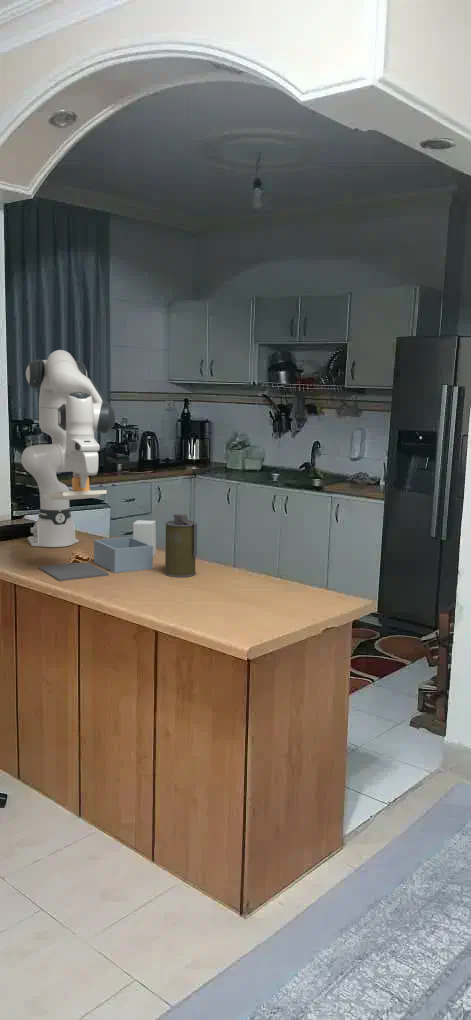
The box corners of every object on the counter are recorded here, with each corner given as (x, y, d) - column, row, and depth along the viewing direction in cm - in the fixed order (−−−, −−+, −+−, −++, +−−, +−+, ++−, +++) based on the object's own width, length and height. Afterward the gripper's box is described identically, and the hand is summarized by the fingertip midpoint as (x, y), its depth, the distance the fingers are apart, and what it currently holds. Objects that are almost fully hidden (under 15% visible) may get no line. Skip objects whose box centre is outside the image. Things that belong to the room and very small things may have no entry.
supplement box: (156, 553, 295) (156, 520, 293) (152, 557, 288) (152, 523, 286) (136, 553, 296) (137, 519, 294) (132, 557, 289) (132, 522, 287)
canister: (158, 574, 262) (159, 515, 259) (175, 568, 271) (175, 511, 268) (186, 579, 257) (187, 518, 254) (202, 572, 266) (203, 514, 263)
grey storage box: (94, 562, 278) (94, 540, 277) (130, 558, 286) (130, 536, 284) (114, 573, 263) (114, 549, 262) (152, 568, 271) (152, 545, 269)
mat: (38, 568, 268) (38, 566, 268) (86, 563, 277) (86, 561, 277) (59, 580, 251) (58, 579, 251) (108, 575, 260) (108, 573, 260)
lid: (44, 501, 264) (42, 481, 264) (85, 498, 271) (84, 479, 271) (63, 499, 248) (62, 477, 248) (106, 496, 256) (105, 476, 256)
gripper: (59, 441, 260) (59, 483, 262) (82, 446, 242) (83, 490, 245) (77, 441, 263) (78, 482, 265) (101, 445, 246) (102, 489, 248)
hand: (80, 486), depth 255 cm, fingers closed on lid, 2 cm apart
